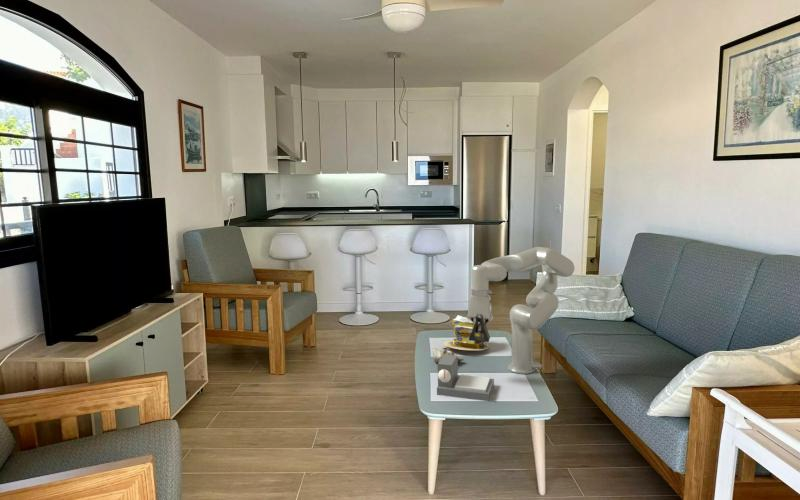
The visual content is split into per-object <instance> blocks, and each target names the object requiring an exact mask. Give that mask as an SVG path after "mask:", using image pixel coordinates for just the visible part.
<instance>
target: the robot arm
mask: <svg viewBox="0 0 800 500" xmlns="http://www.w3.org/2000/svg"><path fill="white" fill-rule="evenodd" d="M538 266H541V269H542V276H541V279H540V280H539V282H538V283H537V284H536V285H535V286H534V287H533V289H532V290H531V291H530V292H529V293H528V294H527V295H526V297H525V302H526V304H527V305H525V304H521V303H518V304H515V305H513V306H512V307H511V308H510V310H509V320H510V327H511V356H510V357H511V363H508V365H507V369H508V370H509V372H512V373H515V374H519V375H520V374H521V375H528V374H531V373H532V374H533V373H535V371H536V368H537V369H542V363H541V364H540V362H538V361H537V362H534V358H533V331H532V330H534V331H536V330H539V329H540V328H542V327H543V326H544V325H545V323H547V322H548V321H549V319H550V318H551V317H552V316H553V315H554V314H555V313H556V311H557V310H558V306H559V302H560V301H559V298H558V295H556V294H555V292H556V291H557V289H558V285H559V284H558V277H563V278H569V277H571V276H572V275H573V274H574V273H575V265H574V262H573V261H572V260H571V259H570V258H569V257H567V256H566V255H563V254H562V253H560V252H559V251H557V250H555V249H553V248H550V247H543V246H535V247H532V248H528V249H526V250H524V251H523V250H522V251H521V252H519V253H518V252H517V253H516V254H508V255H504V256H499V257H494V258H492V259H488V260H485V261H484V262H482V263H481V264H477V265H473V266H472V267H471V286H470V287H471V294H470V295H469V299H468V309H467V310H468V311H467V314H466V316H465V317H466V318H468V319H470V320H471V321H472V322H473V323H474V325H475V322H476V316H477V315H478V316H477V318H482V317H483V323H484V326H485V324H486V325H487V323H489V322H491V321H493V320H494V316H493V314H492V313H493V309H492V298H491V295H492V293H493V291H492V290H490V288H489V282H500V281H503V280H505V278H506V277H507V274H508V273H507V272H510V273H512V272H513V273H514V272H515V273H518V272H524V271H527V270H530V269H532V268H534V267H538ZM480 315H482V317H481V316H480ZM478 330H479V328H478V324H477V327H476V333H478ZM480 330H481V333H482V334H483V331H482V327H481V326H480Z"/></svg>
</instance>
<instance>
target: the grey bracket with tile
mask: <svg viewBox="0 0 800 500" xmlns="http://www.w3.org/2000/svg"><path fill="white" fill-rule="evenodd" d="M457 357H458V354H457V355H455V354H454V355H447V354H444V355H443V357H442V358H441V360H440V361H439V362H437V387H436V395H438V396H446V397H454V398H463V399H470V400H476V401H477V400H478V401H485V402H489V400H490V398H491V395H492V392H493V390H494V387H495V379H494V378H491V377H487V376H478V375H469V374H458V373H459V372H458V363H459V362H457Z"/></svg>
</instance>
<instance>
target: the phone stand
mask: <svg viewBox="0 0 800 500" xmlns="http://www.w3.org/2000/svg"><path fill="white" fill-rule="evenodd" d="M477 316H478V315H477ZM477 316H476V322H475V325H474V327H473V330H472V332H471V335H470V337H469V340H471V341H483V342H484V343H489V342H490V338H491V335H490V334H489V330H488V327H487V323H486V324H485V326H484V323H483V317H482V315H480V316H481V317H482V318H477ZM478 323H480V324H481V326H480V328H481V327H482V331H483V335H484V337H480V336H474V335H475V332H476V327H477V324H478Z"/></svg>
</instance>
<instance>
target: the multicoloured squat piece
mask: <svg viewBox="0 0 800 500" xmlns="http://www.w3.org/2000/svg"><path fill="white" fill-rule="evenodd" d="M466 317H467V316H462V315H460V314H459V315H457V316H456V317H454V318H453V319H452V320H451V321H450V324H452V326H453V336H455V338H453V339H452V340H447V341H444V342H443V343H442V345H443V346H445V347H446V348H451V349H456V351H460V350H462V351H484V350H488V349H490V346H489V345H487V344H486V343H485V342H483V341H471V340H469V337H470V335H471V332H472V330H473V327H474V323H473V322H472V321H471V320H470V319H468V318H466ZM479 328H481V324H480V323H478V333H476V332H475V335H474V336H480V337H484V335H483V334H482V333H481V329H480V330H479Z"/></svg>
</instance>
